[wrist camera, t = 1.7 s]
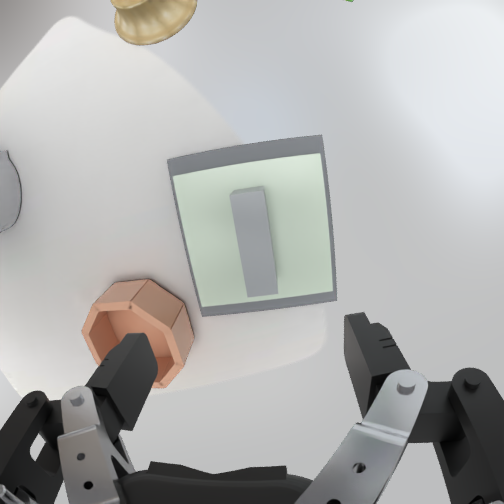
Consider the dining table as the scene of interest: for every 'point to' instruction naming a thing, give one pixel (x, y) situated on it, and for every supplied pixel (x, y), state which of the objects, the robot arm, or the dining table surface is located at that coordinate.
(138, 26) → the hand bell
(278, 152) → the mat
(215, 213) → the cover sheet
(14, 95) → the dining table surface
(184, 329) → the bowl
